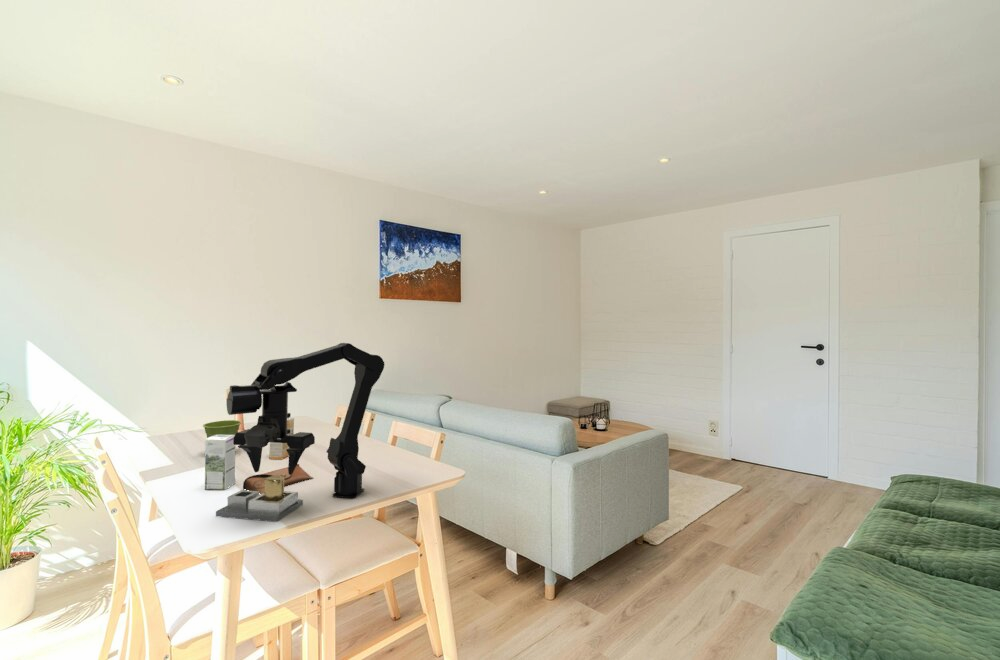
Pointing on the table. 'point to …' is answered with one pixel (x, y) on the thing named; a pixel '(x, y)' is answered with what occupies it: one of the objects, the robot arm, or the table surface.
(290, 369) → the robot arm
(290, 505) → the grey fixture block
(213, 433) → the plant pot
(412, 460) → the table surface
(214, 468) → the syrup box
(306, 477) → the sunglasses case
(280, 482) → the brass fitting
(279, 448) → the supplement box
